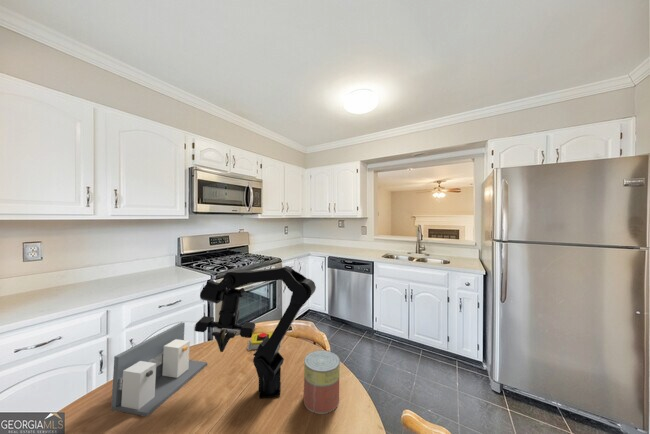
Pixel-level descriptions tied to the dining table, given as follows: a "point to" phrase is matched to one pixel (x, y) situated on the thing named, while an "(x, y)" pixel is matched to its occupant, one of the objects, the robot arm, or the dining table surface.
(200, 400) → the dining table surface
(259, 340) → the emergency button
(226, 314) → the robot arm
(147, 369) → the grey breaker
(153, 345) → the mounting board
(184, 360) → the breaker module
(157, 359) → the steel rail
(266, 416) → the dining table surface
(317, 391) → the canned food
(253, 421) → the dining table surface
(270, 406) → the dining table surface
